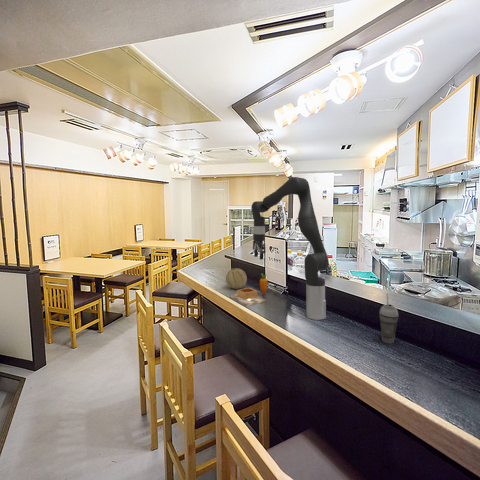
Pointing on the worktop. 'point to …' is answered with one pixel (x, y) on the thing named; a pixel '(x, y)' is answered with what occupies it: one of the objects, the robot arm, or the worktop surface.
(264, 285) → the carrot
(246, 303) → the base board
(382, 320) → the beverage cup
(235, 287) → the cantaloupe
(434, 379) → the worktop surface
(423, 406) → the worktop surface
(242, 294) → the socket collar
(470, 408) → the worktop surface
